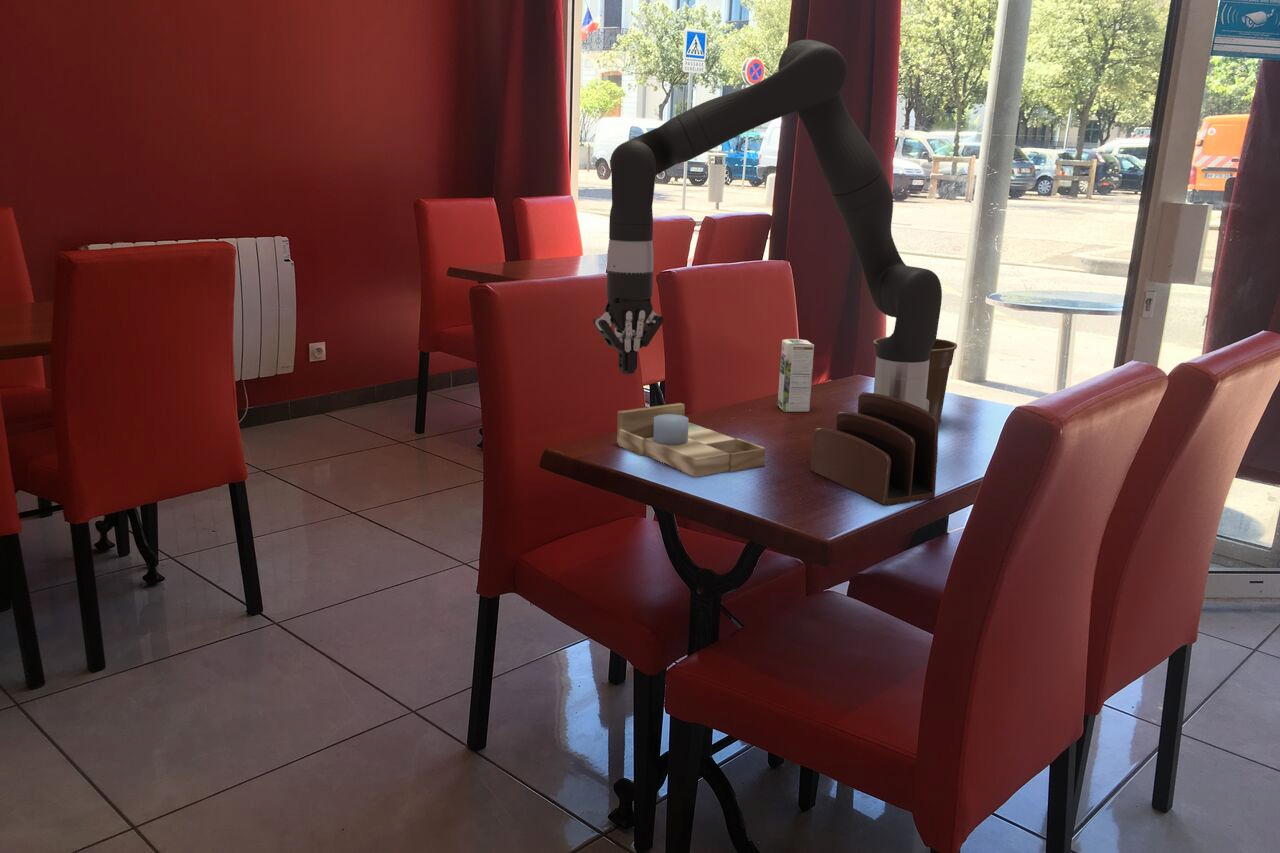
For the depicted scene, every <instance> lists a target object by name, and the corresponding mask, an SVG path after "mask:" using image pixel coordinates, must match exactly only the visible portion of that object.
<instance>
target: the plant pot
mask: <svg viewBox="0 0 1280 853" xmlns="http://www.w3.org/2000/svg"><path fill="white" fill-rule="evenodd" d="M887 337H888V336H885V337H879V338H876V339H874V340H873V342H872V343H873V345H874V346H875V357H876V356H877V355H876V354H877V345H878V342H879V341H880V340H881V339H883V338H887ZM957 348H958V344H957V343H956V342H955V341H950V340H947V339H941V338H936V341H935V343H934V345H933V347H932V349H931V352H930V359H929V371H928V383H927V394H926V399H928V400H929V411H928V412H930V413H931V414H933V415H935V416H936V417H937V418H938V421H939V423H940V422H941V421H942V420H941V418H942V413H943V408H944V402H945V397H946V396H945V395H946V392H947V384H948V380H949V379H948V377H949V373H950V367H951V366H952V364H953V360H954V355H955V350H957Z"/></svg>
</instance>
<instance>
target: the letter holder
mask: <svg viewBox="0 0 1280 853" xmlns="http://www.w3.org/2000/svg"><path fill="white" fill-rule="evenodd" d="M857 398H858V399H857V412H854V411H848V410H840V411H838V412H837V414H836V416H835V429H832V428H827V427H817V428H815V430H814V432H813V438H812V439H813V442H812V452H811V460H810V461H811V462H810V472H812V473H814V474H817V475H819V476H820V477H823V478H825V479H827V480H830V481H832V482H833V481H834V483H836V484H838V485H840V486H842V487H844V488H846V489H848V490H850V491H853V492H855V493H857V494H859V495H862V496H864V497H866V498H868V499H870V500H871V501H874V502H876V501H877V503H878V502H879V504H880V503H881V505H882V506H885V505H887V506H891V505H892V506H893V505H899V503H900V504H906V503H911V502H910V501H913V502H917V500H919V501H924V500H923V499H926V500H931V499H930V498H932V499H934V498H935V496H936V483H937V482H936V480H937V479H936V478H937V463H938V452H939V446H938V445H939V429H940V428H939V426H940V422H939V421H938V418H937V417H936V416H935V415H933V414H931V413H930V412H928V411H926V410H924V409H922V408H920V407H918V406H916V405H913V404H911V403H908V402H906V401H903V400H900V399H897V398H893V397H889V396H885V395H881V394H875V393H874V392H863V391H861V393H859V395H858V397H857ZM905 502H906V503H905Z"/></svg>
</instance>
